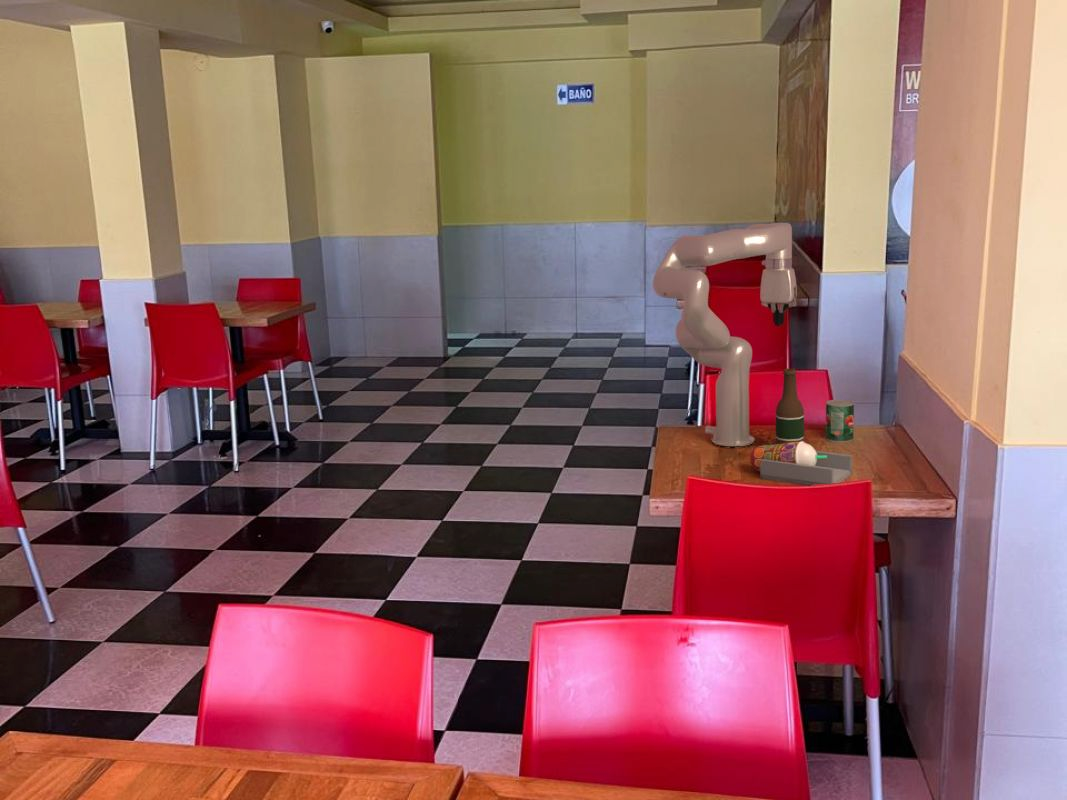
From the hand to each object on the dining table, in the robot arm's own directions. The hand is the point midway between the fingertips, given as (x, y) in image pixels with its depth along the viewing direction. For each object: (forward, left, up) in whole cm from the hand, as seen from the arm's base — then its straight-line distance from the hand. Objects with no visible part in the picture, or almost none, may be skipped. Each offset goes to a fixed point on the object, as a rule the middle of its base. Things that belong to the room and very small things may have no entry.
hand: (778, 325), depth 306 cm
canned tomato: (+21, -5, -32) cm, 39 cm away
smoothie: (+12, -45, -29) cm, 55 cm away
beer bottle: (+14, -25, -32) cm, 43 cm away
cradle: (+26, -44, -32) cm, 61 cm away
